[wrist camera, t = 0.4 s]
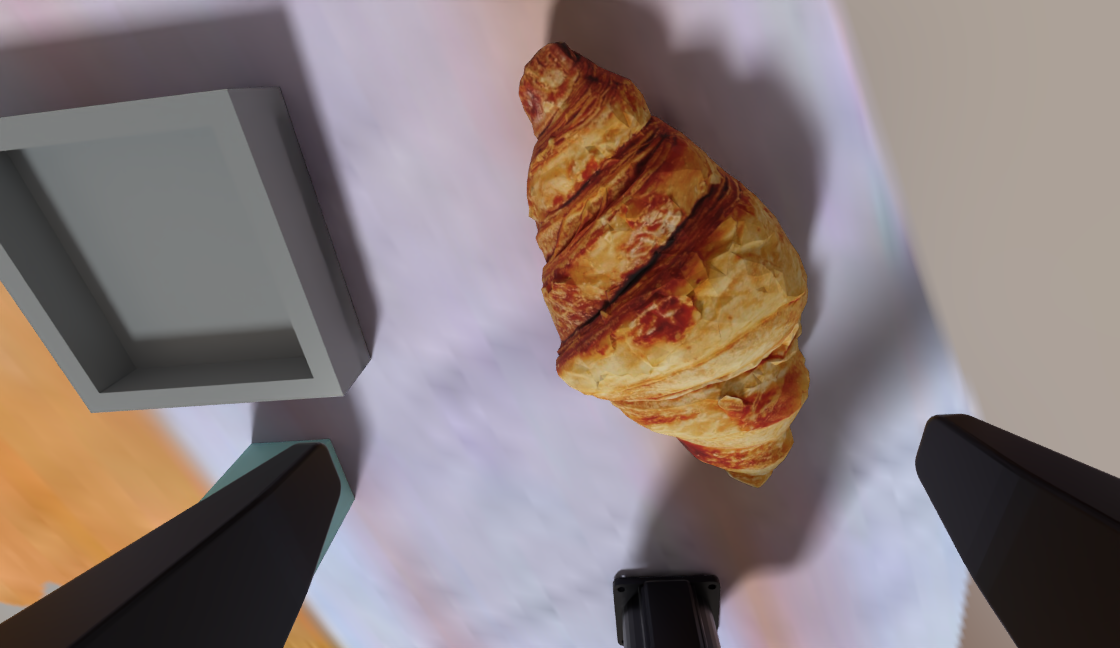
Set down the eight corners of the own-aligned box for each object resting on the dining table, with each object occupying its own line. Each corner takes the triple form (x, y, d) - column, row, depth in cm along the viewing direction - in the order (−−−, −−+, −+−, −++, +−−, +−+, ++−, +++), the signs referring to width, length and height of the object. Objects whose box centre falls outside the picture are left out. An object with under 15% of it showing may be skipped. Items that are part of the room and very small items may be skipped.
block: (355, 498, 28) (301, 597, 23) (282, 501, 28) (212, 600, 23) (330, 438, 26) (264, 532, 21) (251, 443, 26) (168, 536, 21)
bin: (371, 359, 23) (343, 396, 21) (144, 376, 24) (91, 413, 22) (279, 86, 18) (226, 88, 15) (-7, 122, 19) (-103, 130, 16)
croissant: (780, 390, 28) (928, 453, 20) (651, 510, 26) (763, 626, 19) (599, 17, 19) (742, -99, 12) (391, 157, 18) (412, 119, 10)
